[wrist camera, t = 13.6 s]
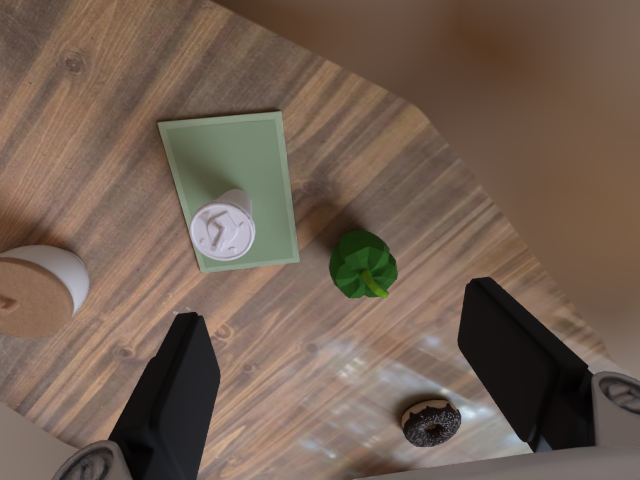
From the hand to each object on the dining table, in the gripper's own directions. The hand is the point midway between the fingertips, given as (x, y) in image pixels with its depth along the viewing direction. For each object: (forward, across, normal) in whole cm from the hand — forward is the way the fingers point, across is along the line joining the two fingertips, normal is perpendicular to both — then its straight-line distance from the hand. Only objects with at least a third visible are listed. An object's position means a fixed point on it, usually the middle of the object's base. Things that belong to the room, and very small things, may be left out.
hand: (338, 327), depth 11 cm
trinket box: (+31, +34, +11) cm, 47 cm away
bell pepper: (+31, -6, +13) cm, 34 cm away
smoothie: (+30, +9, +4) cm, 32 cm away
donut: (+31, -20, +53) cm, 64 cm away
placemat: (+30, +9, +4) cm, 32 cm away
